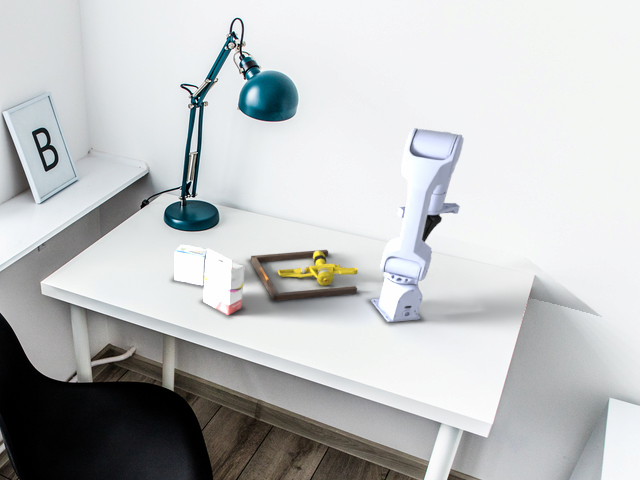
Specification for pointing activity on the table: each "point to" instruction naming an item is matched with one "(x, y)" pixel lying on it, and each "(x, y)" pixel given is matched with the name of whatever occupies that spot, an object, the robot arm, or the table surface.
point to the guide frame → (295, 294)
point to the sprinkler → (319, 270)
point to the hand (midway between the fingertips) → (420, 240)
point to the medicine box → (190, 264)
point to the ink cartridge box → (223, 283)
